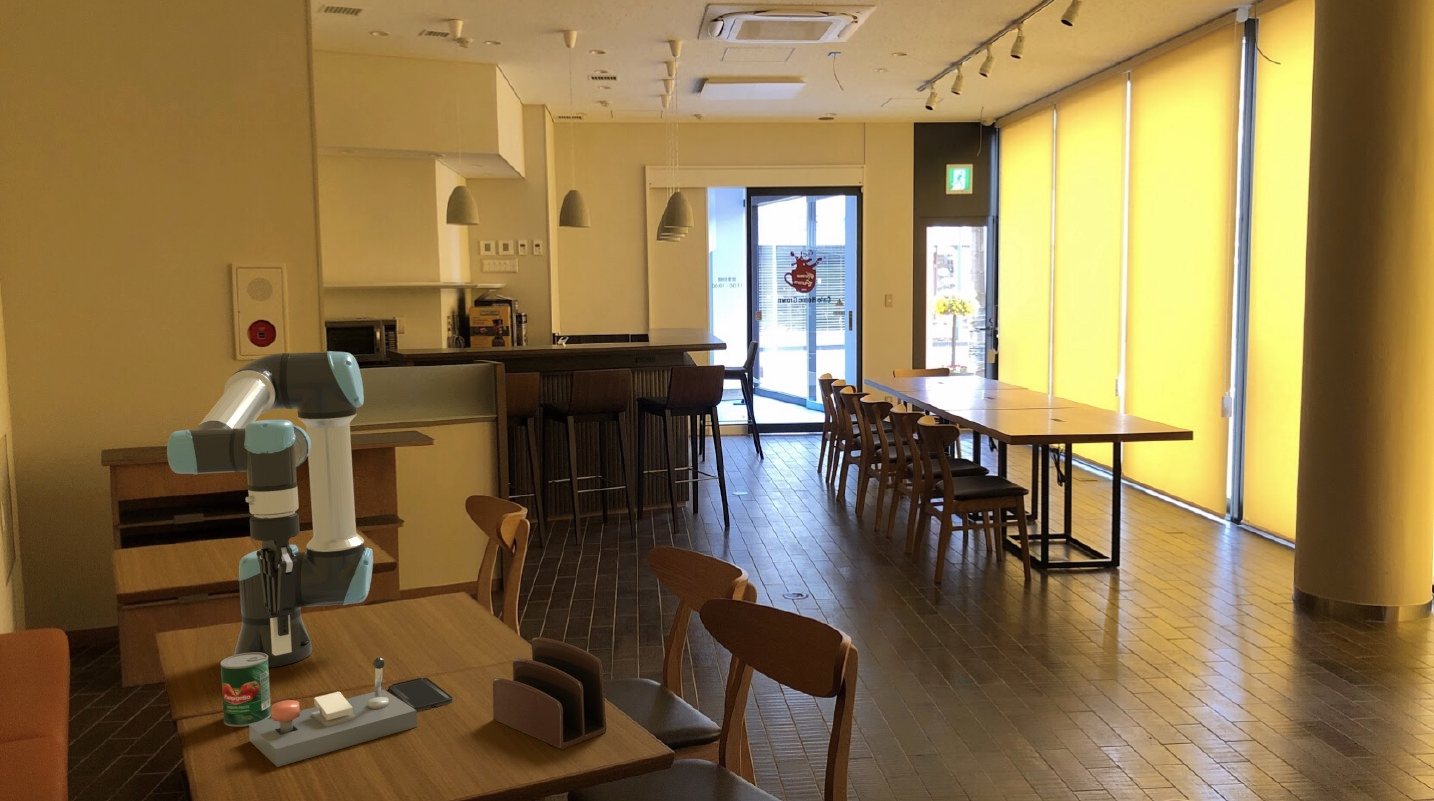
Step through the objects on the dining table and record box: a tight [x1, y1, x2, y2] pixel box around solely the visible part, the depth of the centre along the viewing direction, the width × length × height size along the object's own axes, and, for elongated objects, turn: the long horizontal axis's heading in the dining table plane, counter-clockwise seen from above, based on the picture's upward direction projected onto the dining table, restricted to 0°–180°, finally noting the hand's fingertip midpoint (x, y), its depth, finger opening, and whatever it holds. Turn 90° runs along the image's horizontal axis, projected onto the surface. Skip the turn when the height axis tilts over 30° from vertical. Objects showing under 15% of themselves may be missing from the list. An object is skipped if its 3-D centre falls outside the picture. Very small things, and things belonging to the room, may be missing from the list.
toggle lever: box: [372, 657, 386, 697], centre depth 189 cm, size 2×2×7 cm
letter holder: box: [492, 636, 607, 750], centre depth 187 cm, size 10×20×14 cm, turn 46°
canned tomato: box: [219, 652, 272, 728], centre depth 193 cm, size 8×8×11 cm
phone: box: [387, 676, 453, 712], centre depth 203 cm, size 8×1×15 cm
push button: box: [270, 699, 301, 735], centre depth 180 cm, size 4×4×5 cm
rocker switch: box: [313, 691, 353, 720], centre depth 185 cm, size 6×4×2 cm
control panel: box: [248, 689, 418, 768], centre depth 185 cm, size 14×24×4 cm, turn 130°
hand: (281, 652), depth 179 cm, fingers closed
